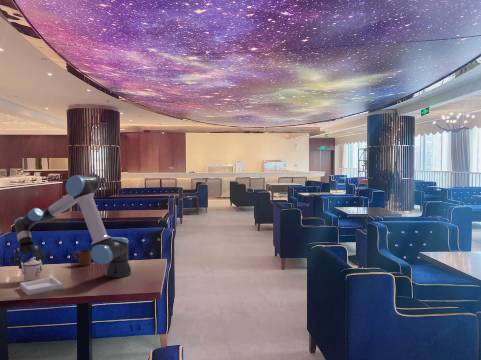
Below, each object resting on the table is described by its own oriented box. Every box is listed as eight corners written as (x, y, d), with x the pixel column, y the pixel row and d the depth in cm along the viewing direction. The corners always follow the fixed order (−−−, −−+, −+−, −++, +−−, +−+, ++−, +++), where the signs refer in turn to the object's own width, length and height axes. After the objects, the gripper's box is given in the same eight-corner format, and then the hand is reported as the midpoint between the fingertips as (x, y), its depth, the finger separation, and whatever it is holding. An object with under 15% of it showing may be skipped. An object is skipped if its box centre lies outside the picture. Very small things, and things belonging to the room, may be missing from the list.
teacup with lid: (38, 280, 228) (38, 259, 227) (21, 281, 226) (20, 260, 225) (44, 274, 239) (43, 255, 239) (27, 275, 237) (26, 256, 237)
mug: (70, 266, 267) (70, 252, 267) (74, 263, 274) (74, 249, 274) (88, 266, 268) (88, 252, 267) (92, 263, 275) (92, 249, 275)
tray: (62, 289, 216) (62, 283, 216) (28, 295, 205) (28, 290, 205) (53, 282, 229) (53, 277, 229) (20, 288, 218) (20, 282, 218)
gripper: (43, 241, 250) (51, 271, 239) (3, 246, 236) (10, 278, 224) (45, 234, 246) (54, 264, 235) (5, 238, 232) (12, 270, 220)
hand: (32, 271), depth 230 cm, fingers closed on teacup with lid, 9 cm apart
